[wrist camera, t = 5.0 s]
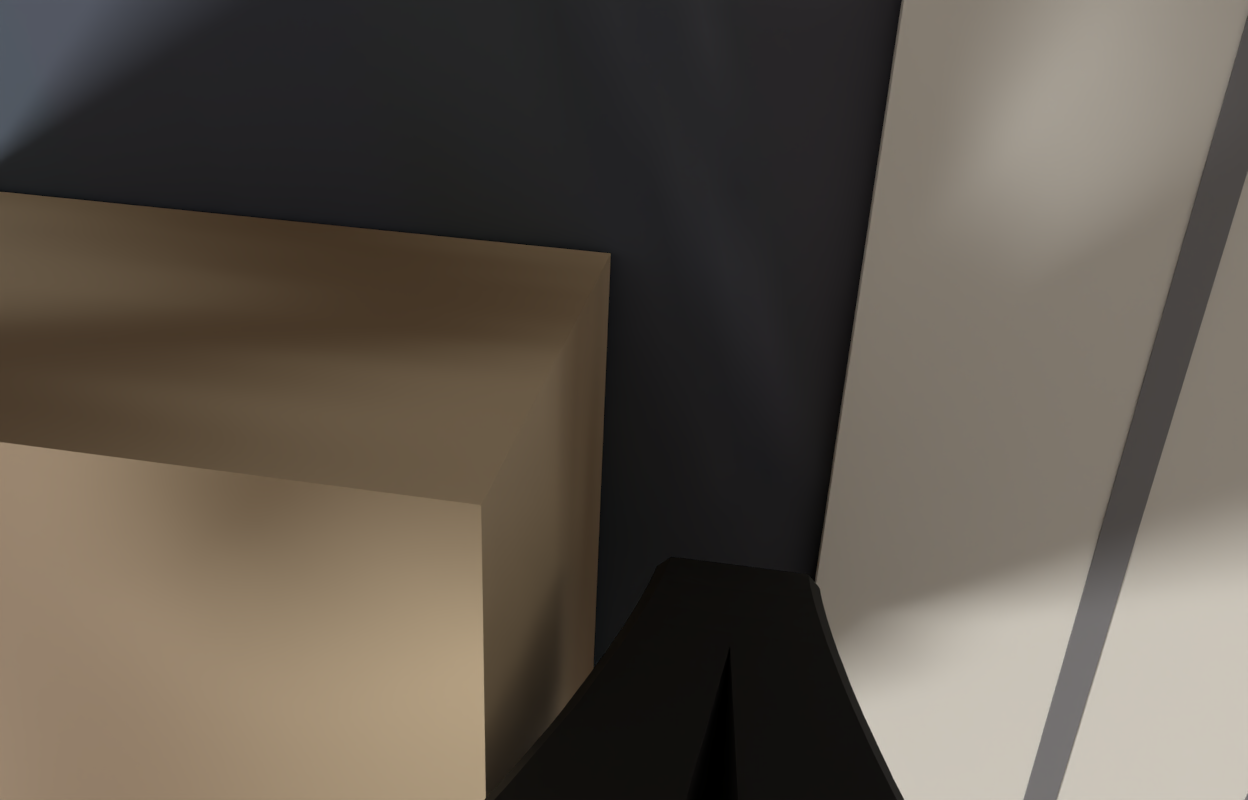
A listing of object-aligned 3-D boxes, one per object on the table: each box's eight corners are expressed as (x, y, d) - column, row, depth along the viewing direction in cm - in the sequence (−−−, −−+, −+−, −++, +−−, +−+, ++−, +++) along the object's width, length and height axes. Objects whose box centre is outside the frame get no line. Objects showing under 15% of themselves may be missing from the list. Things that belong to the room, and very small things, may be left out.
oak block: (609, 253, 10) (482, 504, 6) (588, 772, 12) (492, 1150, 9) (-38, 188, 10) (-485, 378, 7) (79, 691, 13) (-196, 1010, 10)
